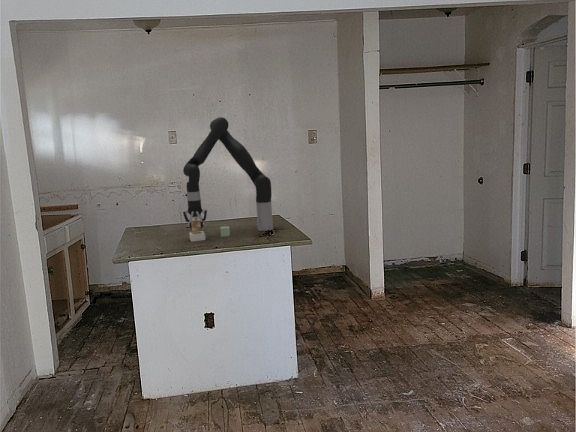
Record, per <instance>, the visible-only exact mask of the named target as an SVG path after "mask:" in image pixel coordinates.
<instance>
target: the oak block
mask: <svg viewBox="0 0 576 432" xmlns="http://www.w3.org/2000/svg"><path fill="white" fill-rule="evenodd" d="M200 222H201V221H200V219H199V220H198V221H195V220H192V222H191V226H192V229H191V232H196V231H202V229H203V227H202V228H201V224H200Z"/></svg>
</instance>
